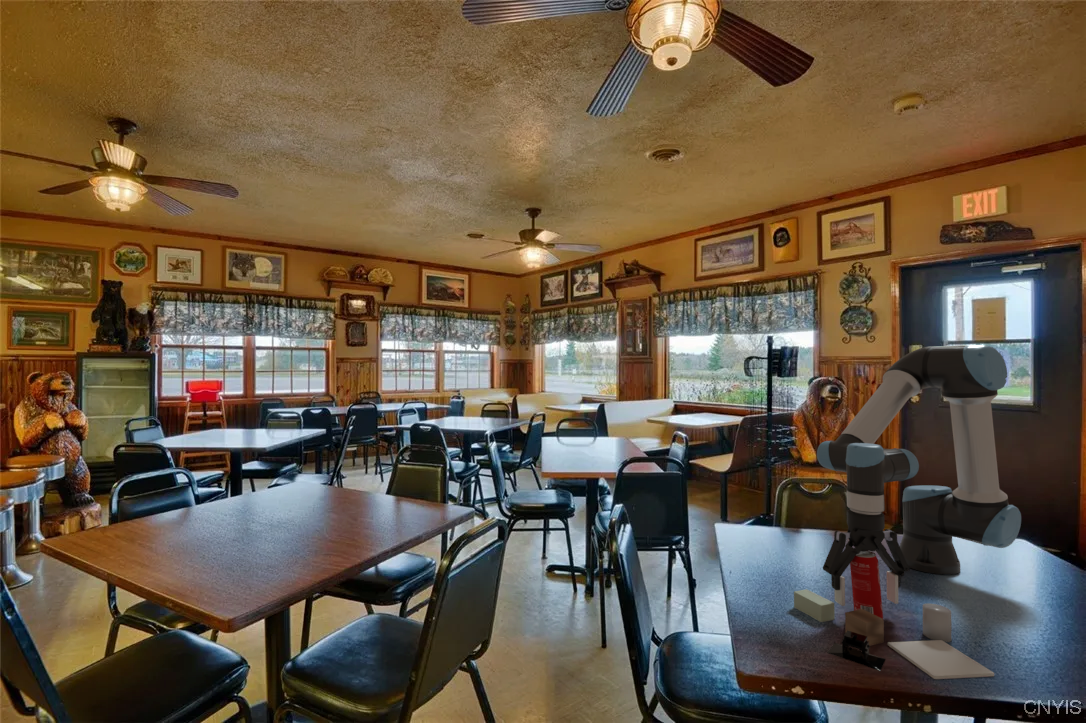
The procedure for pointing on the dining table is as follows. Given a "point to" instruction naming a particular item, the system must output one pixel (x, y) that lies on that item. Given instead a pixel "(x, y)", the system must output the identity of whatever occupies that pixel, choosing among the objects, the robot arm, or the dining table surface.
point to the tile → (940, 659)
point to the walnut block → (865, 625)
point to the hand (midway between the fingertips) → (866, 602)
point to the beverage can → (866, 583)
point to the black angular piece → (856, 651)
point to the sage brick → (814, 605)
